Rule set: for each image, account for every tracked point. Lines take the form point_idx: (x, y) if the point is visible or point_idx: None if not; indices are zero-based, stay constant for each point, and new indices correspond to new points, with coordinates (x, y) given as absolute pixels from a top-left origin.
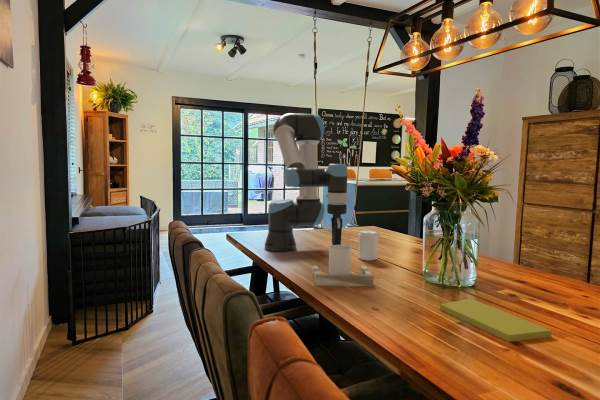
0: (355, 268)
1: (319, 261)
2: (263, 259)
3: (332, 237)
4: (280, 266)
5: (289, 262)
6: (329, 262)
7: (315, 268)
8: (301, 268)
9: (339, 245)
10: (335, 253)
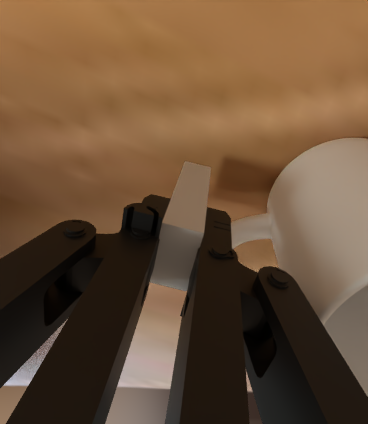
0: (245, 30)
1: (38, 209)
2: (17, 385)
3: (51, 334)
4: None
5: (60, 331)
6: (340, 309)
7: None
8: (165, 322)
9: (328, 314)
10: None
